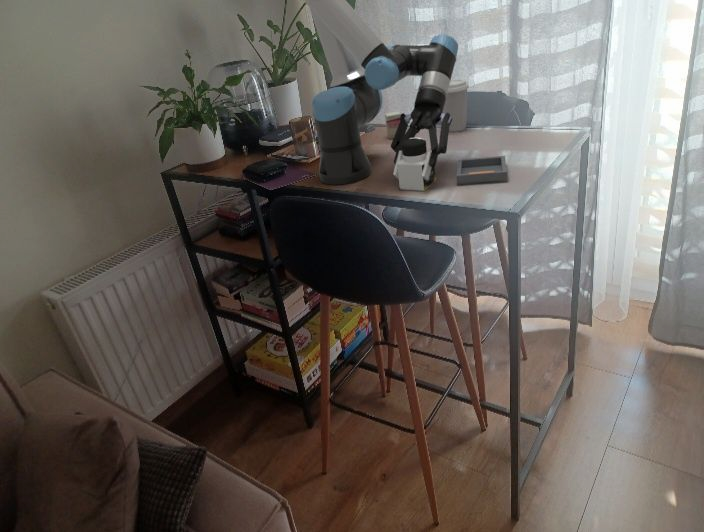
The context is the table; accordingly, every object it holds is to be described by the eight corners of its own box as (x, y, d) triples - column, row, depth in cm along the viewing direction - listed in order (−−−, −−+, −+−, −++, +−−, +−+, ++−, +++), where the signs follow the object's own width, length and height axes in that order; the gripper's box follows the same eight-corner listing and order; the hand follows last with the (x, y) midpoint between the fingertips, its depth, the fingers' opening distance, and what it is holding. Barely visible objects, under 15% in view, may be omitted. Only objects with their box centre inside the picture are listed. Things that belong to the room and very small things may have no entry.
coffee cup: (444, 125, 178) (441, 80, 171) (472, 124, 175) (470, 77, 167) (438, 134, 171) (434, 87, 163) (467, 132, 167) (465, 84, 160)
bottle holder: (457, 185, 130) (456, 175, 129) (458, 168, 140) (458, 158, 139) (507, 181, 127) (507, 171, 126) (505, 164, 137) (504, 154, 136)
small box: (389, 139, 174) (386, 116, 170) (387, 136, 178) (384, 113, 174) (404, 137, 174) (401, 113, 170) (401, 133, 178) (399, 110, 174)
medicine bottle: (424, 191, 130) (420, 144, 124) (399, 189, 134) (393, 144, 128) (436, 180, 135) (432, 135, 129) (411, 179, 139) (406, 135, 133)
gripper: (473, 101, 132) (453, 185, 128) (402, 103, 142) (382, 181, 139) (464, 84, 125) (443, 173, 122) (391, 88, 136) (369, 169, 132)
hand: (410, 177), depth 130 cm, fingers closed on medicine bottle, 7 cm apart
